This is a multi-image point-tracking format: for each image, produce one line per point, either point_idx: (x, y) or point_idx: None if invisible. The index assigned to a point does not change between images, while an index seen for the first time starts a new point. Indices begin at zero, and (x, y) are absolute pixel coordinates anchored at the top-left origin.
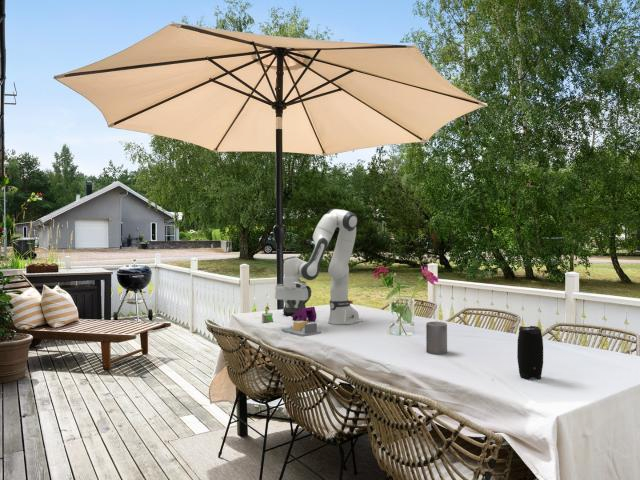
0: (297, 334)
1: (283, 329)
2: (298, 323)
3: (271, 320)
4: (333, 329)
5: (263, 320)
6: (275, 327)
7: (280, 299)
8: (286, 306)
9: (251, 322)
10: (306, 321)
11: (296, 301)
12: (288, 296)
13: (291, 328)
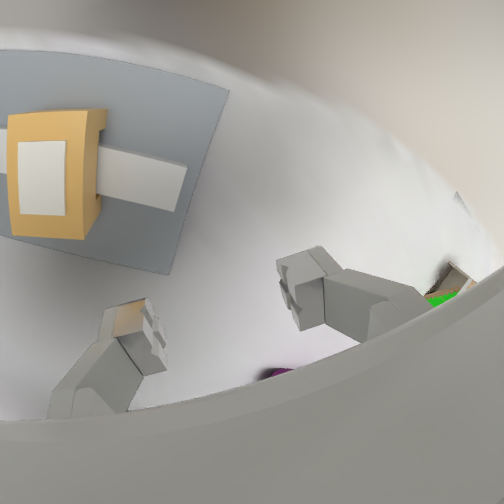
0: (19, 51)
1: (207, 84)
2: (20, 114)
3: (428, 300)
4: (12, 332)
5: (455, 267)
6: (354, 190)
7: (498, 269)
8: (309, 254)
9: (483, 237)
10: (22, 230)
11: (81, 400)
12: (348, 465)
13: (173, 158)
